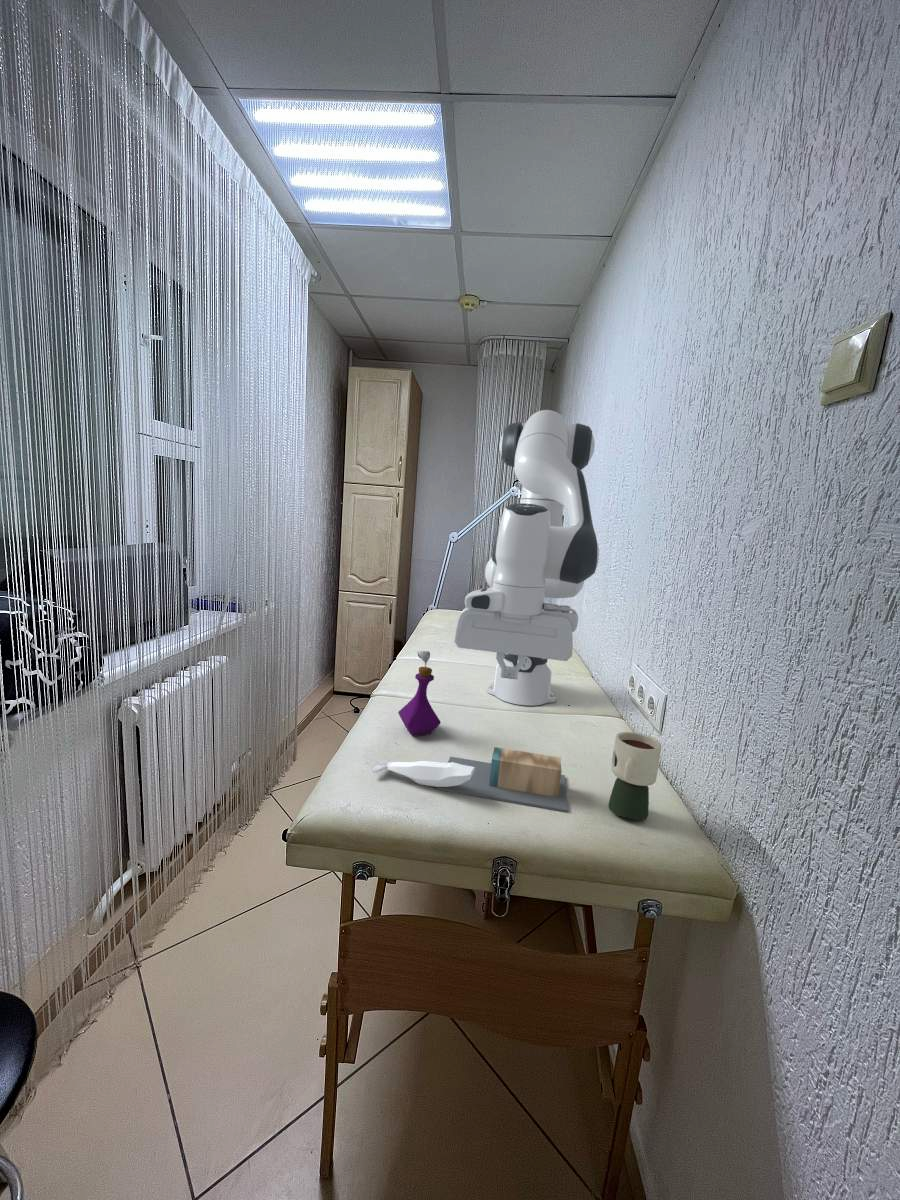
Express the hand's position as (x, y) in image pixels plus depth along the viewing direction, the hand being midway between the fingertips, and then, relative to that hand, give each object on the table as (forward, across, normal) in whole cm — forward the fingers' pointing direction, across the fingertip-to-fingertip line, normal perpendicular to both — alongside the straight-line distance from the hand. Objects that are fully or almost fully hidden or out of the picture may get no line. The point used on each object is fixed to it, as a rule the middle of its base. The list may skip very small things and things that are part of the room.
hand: (509, 677), depth 87 cm
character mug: (+20, -22, +4) cm, 30 cm away
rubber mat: (+20, -1, +1) cm, 20 cm away
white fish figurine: (+20, +13, +5) cm, 24 cm away
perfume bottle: (+20, +19, -15) cm, 32 cm away
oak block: (+17, +2, +1) cm, 17 cm away
